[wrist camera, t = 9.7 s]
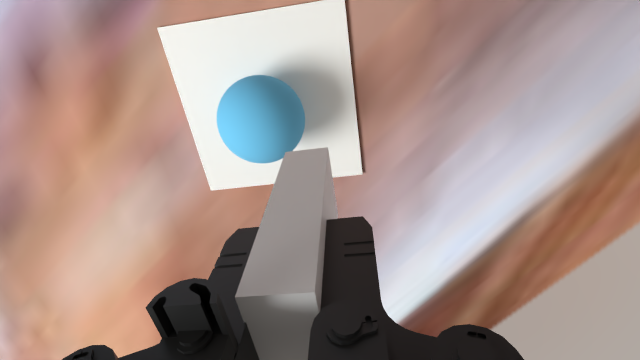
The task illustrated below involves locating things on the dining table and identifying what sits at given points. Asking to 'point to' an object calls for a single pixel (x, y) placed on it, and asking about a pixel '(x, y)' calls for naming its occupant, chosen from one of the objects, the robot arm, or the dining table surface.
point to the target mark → (276, 61)
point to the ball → (260, 119)
